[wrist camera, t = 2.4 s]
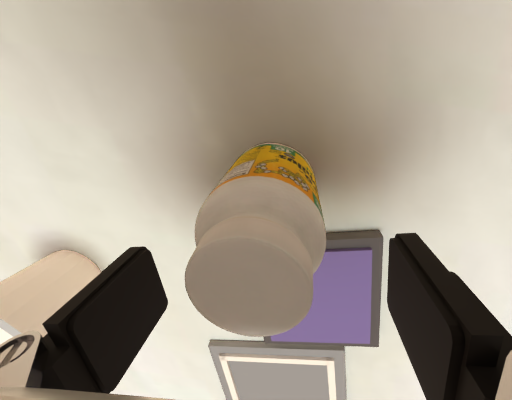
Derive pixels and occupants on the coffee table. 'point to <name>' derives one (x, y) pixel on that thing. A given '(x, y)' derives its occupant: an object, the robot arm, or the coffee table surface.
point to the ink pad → (343, 294)
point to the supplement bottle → (258, 244)
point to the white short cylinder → (42, 291)
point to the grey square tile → (279, 370)
